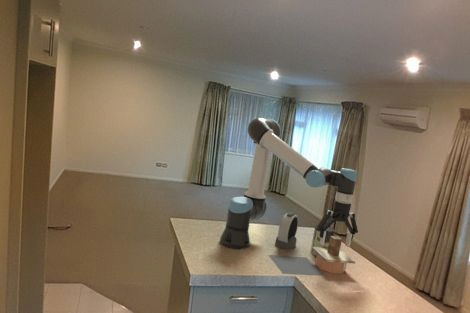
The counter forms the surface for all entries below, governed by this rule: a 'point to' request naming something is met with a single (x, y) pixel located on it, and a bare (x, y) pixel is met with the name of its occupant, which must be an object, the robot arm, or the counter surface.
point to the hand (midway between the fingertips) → (334, 245)
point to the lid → (333, 252)
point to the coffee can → (317, 238)
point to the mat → (295, 265)
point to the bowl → (330, 265)
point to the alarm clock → (287, 231)
